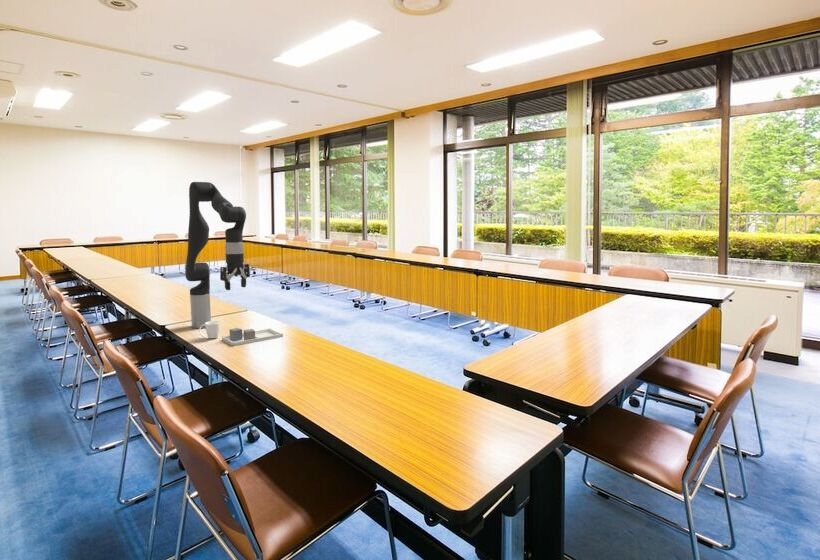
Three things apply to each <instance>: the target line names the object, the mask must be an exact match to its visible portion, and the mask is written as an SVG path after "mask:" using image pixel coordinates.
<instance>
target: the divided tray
mask: <svg viewBox="0 0 820 560" xmlns="http://www.w3.org/2000/svg"><path fill="white" fill-rule="evenodd" d="M283 337H284V334H283V333H282V332H279V331H277V330H275V329H272V328H264V329H260V330H255V339H250V340H245V341H244V332H242V339H243V340H239V341H232V340H230V334H229V335H225V336H221V340H222V341H223V342H224V343H227V344H228V345H231V346H232V347H236V346H243V345H247V344H252V343H259V342H262V341H267V340H268V341H269V340H274V339H278V338H283Z"/></svg>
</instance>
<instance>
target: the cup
mask: <svg viewBox="0 0 820 560" xmlns="http://www.w3.org/2000/svg"><path fill="white" fill-rule="evenodd" d="M203 325H204V326H205V327H206V328H205V331H206V335H207V336H205V335H204V334H203V333H202V328H201V327H202V325H201V326H200V328H198V330H199V331H198V332H199V334H200V336H201V337H203V338H204V339H217V338H219V334H220V328H221V327H220V326H221V321H218V320H211V321H209V322H205V324H203Z"/></svg>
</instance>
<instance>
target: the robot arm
mask: <svg viewBox="0 0 820 560" xmlns="http://www.w3.org/2000/svg"><path fill="white" fill-rule="evenodd" d="M188 197H189V198H188V199H189V202H188V203H189V205H188V206H189V220H188V232H187V254H186V260H185V261H186V263H185V270H184V271H185V272H184V274H185V279H186V280H187V281H188V282H199V283H198V284H197V285H195V286H192V287H191V288H190V289H189V299H190V317H191V319H190V320H191V328H192V329H200V326H201V325H202V327H201V329H206V327H205V326H204V325H203V324H205V322H209V321H212V315H211V314H212V313H211V292H210V289H211V287H210V286H211V285H210V284H211V283H210V282H211V280H210V279H211V278H210V277H211V273H210V265H209V263H208V262H196V261H197V258H198V256H199V254H200V253H201V251H203V250H204V248H205V247H206V246H207V244H208V243H209V237H210V235H209V234H210V226H209V224H208V223H207V220H206V219H205V218H204V216H203V214H202V212H201V210H200V202H201V203H202V202H203V203H204V202H206V203H208V202H210V203H211V208H212V209H213V210H214V211H215V212H216V213H217V214H218V215H219V217H220V220H221V221H222V222H223V223H227V224H234V226H232V227H230V228H229V227H228V228H227V229H225V231H224V233H225V236H224V237H225V246H224V251H225V253H224V255H225V263H226V266H220V268H219V269H220V271H219V272H220V273H219V274H220V275H219V276H220V277H219V279H220V281H223V282H224V288H225V290H226V291H231V279H232V278H233V277H235V276H239V277H240V286H241V287H242V288H247V287H246V286H247V278H250V277H251V272H250V264H248V263H245V256H244V255H245V252H244V251H245V250H244V249H245V248H244V242H243V241H244V240H243V232H244V227H245V222H246V219H247V213H246V209H244V207H243V206H234V205H233V203H231V201H229V200H228V199H226V198H225V197H224V196H223V195H222V193H221V192H220V190H219V189H218V188H217V187H216V186H215V184H213V183H212V182H209V181H192V182H191V183H190V185H189V188H188Z"/></svg>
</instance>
